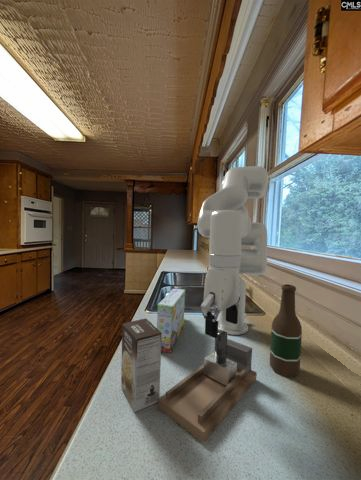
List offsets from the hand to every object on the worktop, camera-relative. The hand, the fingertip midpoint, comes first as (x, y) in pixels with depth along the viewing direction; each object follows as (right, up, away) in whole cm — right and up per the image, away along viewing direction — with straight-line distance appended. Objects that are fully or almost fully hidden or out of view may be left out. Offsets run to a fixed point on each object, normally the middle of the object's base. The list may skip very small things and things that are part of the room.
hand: (221, 328), depth 58 cm
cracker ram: (-1, -12, 0) cm, 12 cm away
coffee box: (-20, -14, -4) cm, 25 cm away
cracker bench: (-3, -14, -3) cm, 15 cm away
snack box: (-14, -13, +25) cm, 31 cm away
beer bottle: (+19, -15, +7) cm, 25 cm away
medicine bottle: (-14, -12, +40) cm, 44 cm away
